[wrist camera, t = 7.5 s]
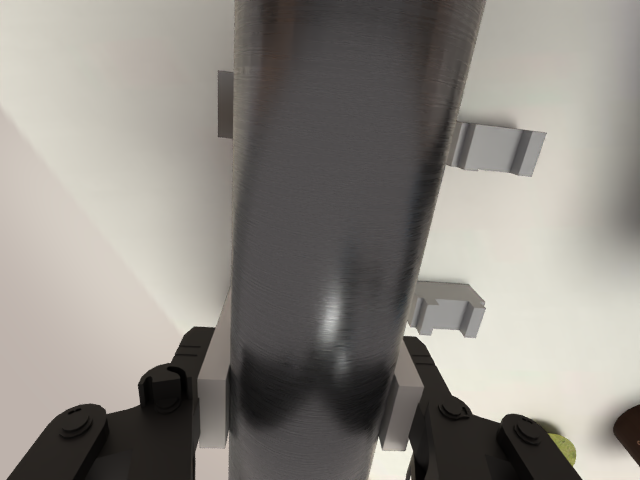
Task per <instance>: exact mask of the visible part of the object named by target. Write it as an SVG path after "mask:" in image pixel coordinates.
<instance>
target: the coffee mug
mask: <svg viewBox="0 0 640 480" xmlns="http://www.w3.org/2000/svg"><path fill="white" fill-rule="evenodd" d="M613 431H614V435H615V436H616V437H617V438H618V440H619V441H620V442H621V444H622V445H623V446H624V447H625V449H626V450H627V451H628V453H629V454H630V455H631V456H632V458H633V459H634V460H635V461H636V463H637V464H638V465H639V467H640V405H638V406H635V407H633V408H631V409H629V410H628V411H626V412H625V413H623V414H622V415H621V416H620V417H619V418H618V420H617V421H616V423H615V425H614V428H613Z"/></svg>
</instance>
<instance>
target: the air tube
mask: <svg viewBox="0 0 640 480" xmlns="http://www.w3.org/2000/svg"><path fill="white" fill-rule="evenodd" d="M485 3H486V0H235V23H234V99H233V176H232V252H231V328H230V415H229V480H368V477H369V473H370V469H371V465H372V461H373V457H374V453H375V449H376V445H377V441H378V437H379V432H380V428H381V424H382V420H383V416H384V412H385V408H386V404H387V400H388V396H389V392H390V388H391V384H392V380H393V376H394V372H395V368H396V364H397V360H398V356H399V352H400V347H401V343H402V339H403V335H404V331H405V327H406V323H407V319H408V315H409V311H410V307H411V303H412V299H413V295H414V291H415V287H416V283H417V279H418V275H419V271H420V267H421V262H422V258H423V254H424V250H425V246H426V242H427V238H428V234H429V230H430V226H431V222H432V218H433V214H434V210H435V206H436V202H437V198H438V194H439V190H440V186H441V182H442V177H443V173H444V169H445V165H446V161H447V157H448V153H449V149H450V145H451V141H452V137H453V133H454V129H455V125H456V121H457V117H458V113H459V109H460V105H461V101H462V97H463V92H464V88H465V84H466V80H467V76H468V72H469V68H470V64H471V60H472V56H473V52H474V48H475V44H476V40H477V36H478V32H479V28H480V24H481V20H482V16H483V12H484V7H485Z"/></svg>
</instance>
